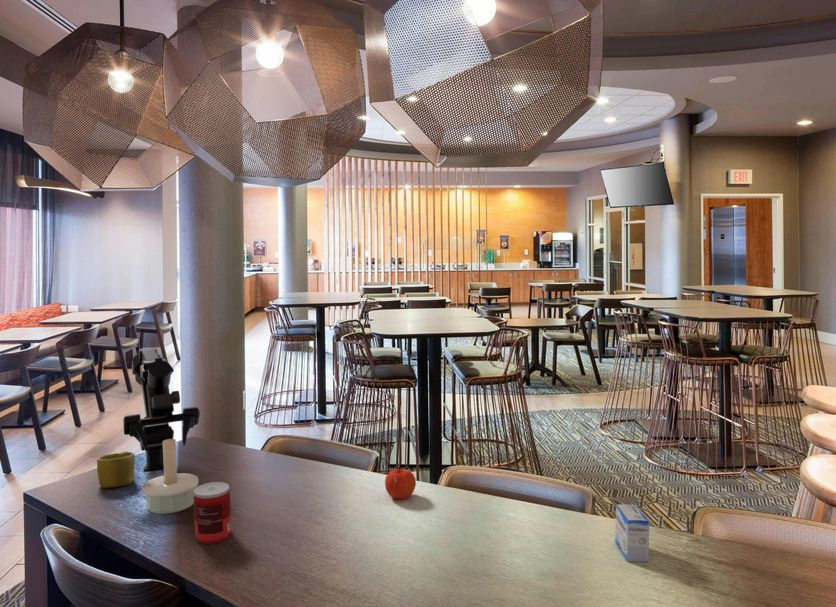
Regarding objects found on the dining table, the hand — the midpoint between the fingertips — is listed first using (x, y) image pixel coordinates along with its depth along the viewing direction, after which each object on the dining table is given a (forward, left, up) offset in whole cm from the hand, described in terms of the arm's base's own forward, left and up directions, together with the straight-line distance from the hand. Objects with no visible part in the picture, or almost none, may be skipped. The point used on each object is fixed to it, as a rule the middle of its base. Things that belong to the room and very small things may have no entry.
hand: (165, 447), depth 153 cm
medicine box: (+60, +99, -13) cm, 116 cm away
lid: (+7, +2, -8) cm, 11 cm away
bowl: (+8, +2, -12) cm, 15 cm away
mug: (-13, -15, -13) cm, 24 cm away
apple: (+19, +59, -13) cm, 63 cm away
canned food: (+29, +14, -13) cm, 34 cm away
